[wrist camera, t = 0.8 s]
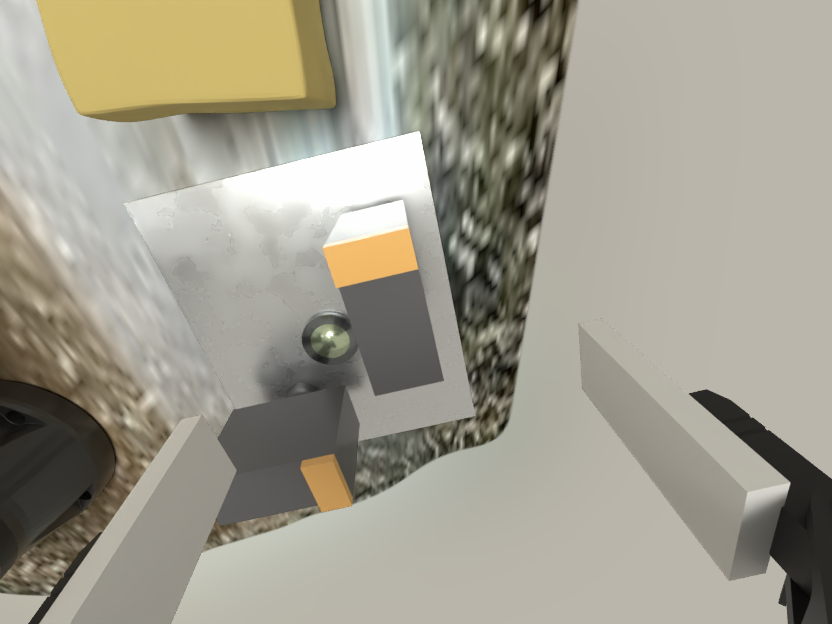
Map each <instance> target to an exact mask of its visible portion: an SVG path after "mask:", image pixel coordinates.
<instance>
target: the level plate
mask: <svg viewBox="0 0 832 624" xmlns="http://www.w3.org/2000/svg"><path fill="white" fill-rule="evenodd" d="M400 200H403V202H404V206H405V211H406V215H407V220H408V224H409V228H410V233H411V237H412V241H413V246H414V250H415V254H416V259H417V263H418V268H419V272H420V276H421V281H422V285H423V289H424V294H425V298H426V302H427V307H428V311H429V315H430V320H431V324H432V329H433V333H434V338H435V342H436V347H437V351H438V356H439V360H440V365H441V369H442V374H443V378H444V381H442V382H437V383H433V384H428V385H424V386H419V387H415V388H410V389H405V390H401V391H396V392H392V393H387V394H383V395H378V396H375V395H374V392H373V389H372V386H371V383H370V380H369V377H368V374H367V371H366V368H365V365H364V362H363V359H362V356H361V353H360V350H359V347H358V344H357V341H356V338H355V335H354V332H353V329H352V326H351V323H350V320H349V317H348V314H347V311H346V308H345V305H344V302H343V299H342V296H341V293H340V290H339V288H336V287H335V284H334V281H333V278H332V275H331V272H330V269H329V266H328V263H327V260H326V257H325V254H324V251H323V246H324V245H325V243H326V241H327V239H328V237H329V235H330V234H331V232H332V230H333V228H334V226H335V225H336V223H337V221H338V219H339V217H340V215H341V214H345V213H350V212H354V211H358V210H362V209H366V208H371V207H375V206H379V205H383V204H387V203H392V202H396V201H400ZM124 205H125V206H126V208H127V210H128V212H129V214H130V216H131V218H132V219H133V221H134V223H135V225H136V227H137V229H138V230H139V232H140V234H141V236H142V238H143V240H144V242H145V243H146V245H147V247H148V249H149V251H150V253H151V255H152V256H153V258H154V260H155V262H156V264H157V266H158V267H159V269H160V271H161V273H162V275H163V277H164V279H165V280H166V282H167V284H168V286H169V288H170V290H171V291H172V293H173V295H174V297H175V299H176V301H177V303H178V304H179V306H180V308H181V310H182V312H183V314H184V315H185V317H186V319H187V321H188V323H189V325H190V327H191V328H192V330H193V332H194V334H195V336H196V338H197V339H198V341H199V343H200V345H201V347H202V349H203V351H204V352H205V354H206V356H207V358H208V360H209V362H210V363H211V365H212V367H213V369H214V371H215V373H216V375H217V376H218V378H219V380H220V382H221V384H222V386H223V387H224V389H225V391H226V393H227V395H228V397H229V399H230V400H231V402H232V404H233V406H234V408H235V409H239V408H244V407H248V406H253V405H257V404H262V403H266V402H271V401H275V400H280V399H284V398H285V396H286V393H287V391H288V389H289V388H290V387H291V386H293V385H295V384H298V383H308V384H311V385H313V386H315V387H316V388H318V389H319V391H320V390H325V389H329V388H334V387H338V386H343V385H346V388H347V390H348V393H349V396H350V399H351V401H352V404H353V407H354V409H355V412H356V415H357V418H358V420H359V423H360V428H359V438H358V441H362V440H367V439H371V438H376V437H381V436H385V435H390V434H395V433H399V432H404V431H408V430H413V429H418V428H422V427H427V426H431V425H436V424H441V423H445V422H450V421H454V420H459V419H464V418H468V417H473V416H475V412H474V407H473V402H472V397H471V392H470V387H469V382H468V377H467V372H466V366H465V361H464V356H463V351H462V346H461V341H460V336H459V331H458V326H457V321H456V315H455V310H454V305H453V300H452V295H451V290H450V285H449V280H448V275H447V270H446V264H445V259H444V254H443V249H442V244H441V239H440V234H439V229H438V224H437V219H436V213H435V208H434V203H433V198H432V193H431V188H430V183H429V178H428V173H427V168H426V162H425V157H424V152H423V147H422V142H421V137H420V132H419V131H416V132H412V133H408V134H404V135H400V136H396V137H392V138H388V139H384V140H380V141H376V142H371V143H367V144H363V145H359V146H355V147H351V148H347V149H343V150H339V151H335V152H331V153H326V154H322V155H318V156H314V157H310V158H306V159H302V160H298V161H294V162H290V163H286V164H281V165H277V166H273V167H269V168H265V169H261V170H257V171H253V172H249V173H245V174H241V175H236V176H232V177H228V178H224V179H220V180H216V181H212V182H208V183H204V184H200V185H196V186H191V187H187V188H183V189H179V190H175V191H171V192H167V193H163V194H159V195H155V196H151V197H146V198H142V199H139V200H135V201H132V202H128V203H125V204H124Z"/></svg>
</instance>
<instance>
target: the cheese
mask: <svg viewBox="0 0 832 624" xmlns="http://www.w3.org/2000/svg"><path fill="white" fill-rule="evenodd" d="M36 1H37V4H38V8H39V11H40V15H41V18H42V22H43V25H44V29H45V32H46V36H47V39H48V42H49V46H50V49H51V53H52V55H53V58H54V61H55V64H56V66H57V69H58V72H59V75H60V77H61V79H62V82H63V84H64V86H65V89H66V91H67V93H68V95H69V97H70V99H71V101H72V103H73V105H74V107H75V109H76V111H77V112H78V113H79V114H81V115H83V116H87V117H91V118H95V119H100V120H107V121H116V122H137V121H145V120H152V119H157V118H162V117H168V116H174V115H179V114H187V113H247V112H265V111H283V110H301V109H332V108H333V107H335V105H336V96H335V85H334V78H333V72H332V67H331V63H330V59H329V55H328V51H327V47H326V42H325V36H324V30H323V24H322V18H321V11H320V4H319V0H36Z"/></svg>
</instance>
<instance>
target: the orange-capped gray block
mask: <svg viewBox="0 0 832 624" xmlns="http://www.w3.org/2000/svg"><path fill="white" fill-rule="evenodd" d="M323 251H324V254H325V257H326V260H327V263H328V266H329V269H330V272H331V275H332V278H333V281H334V284H335V287H336V288H339V290H340V293H341V296H342V299H343V302H344V305H345V308H346V311H347V314H348V317H349V320H350V323H351V326H352V329H353V332H354V335H355V338H356V341H357V344H358V347H359V350H360V353H361V356H362V359H363V362H364V365H365V368H366V371H367V374H368V377H369V380H370V383H371V386H372V389H373V392H374V395H375V396H378V395H383V394H387V393H392V392H396V391H401V390H405V389H410V388H415V387H419V386H424V385H428V384H433V383H437V382H442V381H444V378H443V374H442V369H441V365H440V360H439V356H438V351H437V347H436V342H435V338H434V333H433V329H432V324H431V320H430V315H429V311H428V307H427V302H426V298H425V294H424V289H423V285H422V281H421V276H420V272H419V268H418V263H417V259H416V254H415V250H414V246H413V241H412V237H411V233H410V228H409V224H408V220H407V215H406V211H405V206H404V202H403V200H400V201H396V202H392V203H387V204H383V205H379V206H375V207H371V208H366V209H362V210H358V211H354V212H350V213H345V214H341V215H340V217H339V219H338V221H337V223H336V225H335V226H334V228H333V230H332V232H331V234H330V235H329V237H328V239H327V241H326V243H325V245H324V246H323Z"/></svg>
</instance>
